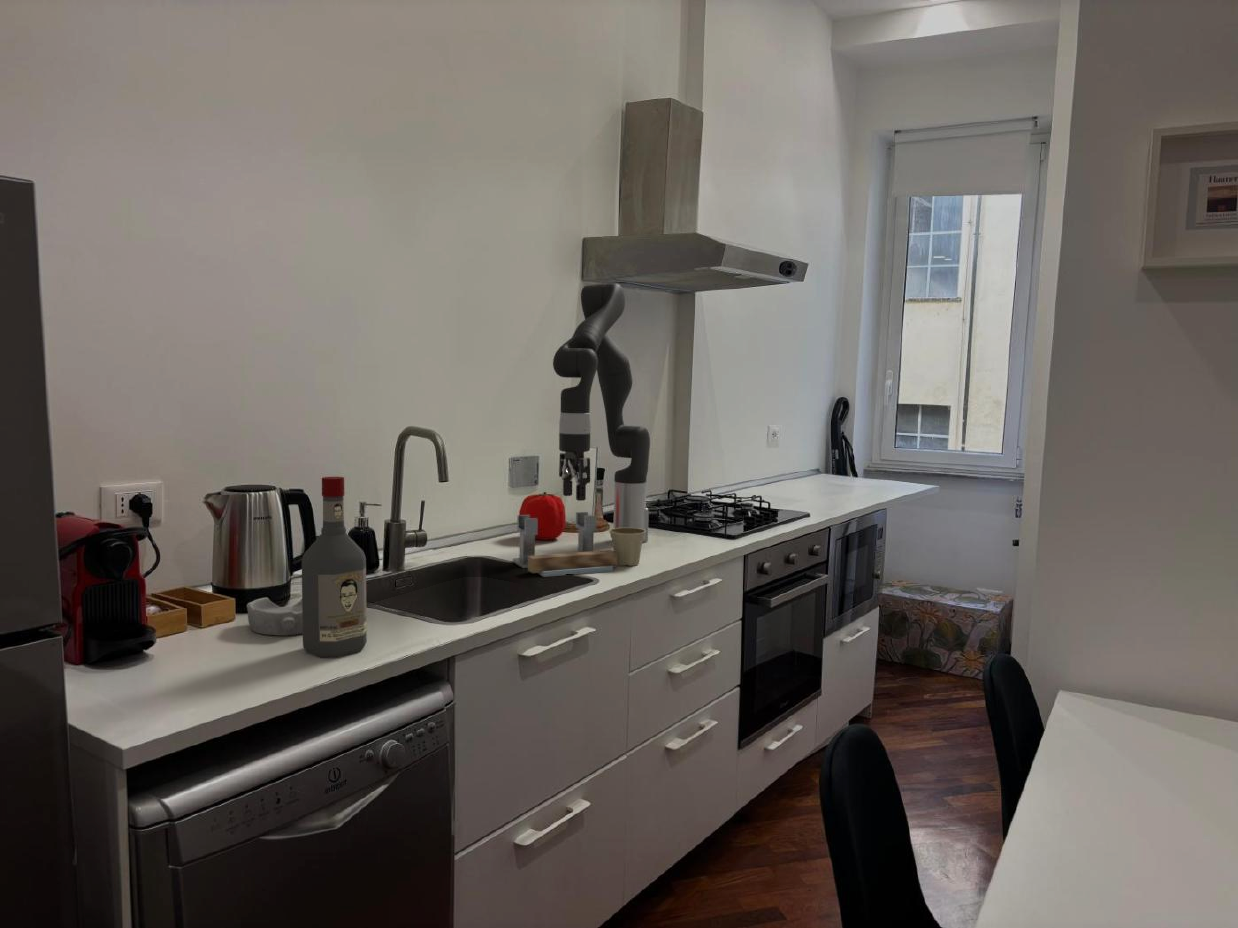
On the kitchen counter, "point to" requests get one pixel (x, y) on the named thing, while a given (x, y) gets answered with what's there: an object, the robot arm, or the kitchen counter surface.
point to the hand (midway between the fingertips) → (574, 497)
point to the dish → (275, 618)
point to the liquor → (334, 583)
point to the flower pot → (627, 545)
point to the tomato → (545, 514)
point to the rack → (529, 530)
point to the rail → (571, 561)
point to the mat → (576, 571)
